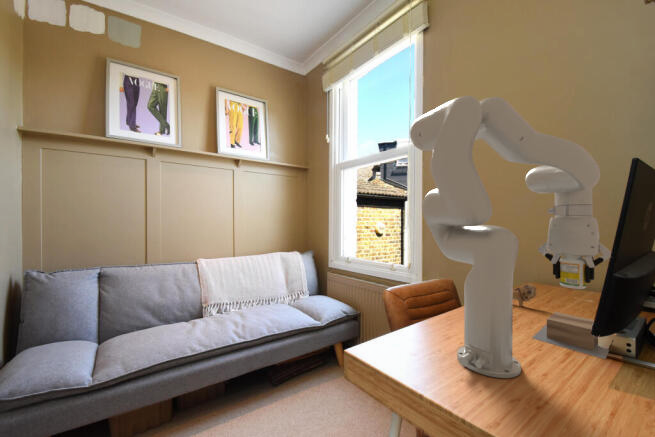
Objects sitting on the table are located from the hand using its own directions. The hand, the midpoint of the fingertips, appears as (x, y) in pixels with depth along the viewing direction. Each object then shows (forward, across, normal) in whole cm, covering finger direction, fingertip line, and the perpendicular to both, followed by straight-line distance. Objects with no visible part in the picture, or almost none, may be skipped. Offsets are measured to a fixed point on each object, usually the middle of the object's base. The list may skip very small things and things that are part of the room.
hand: (572, 279), depth 73 cm
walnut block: (+16, 0, 0) cm, 16 cm away
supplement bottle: (+2, 0, 0) cm, 2 cm away
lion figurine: (+17, -20, +21) cm, 34 cm away
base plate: (+17, 0, 0) cm, 17 cm away
